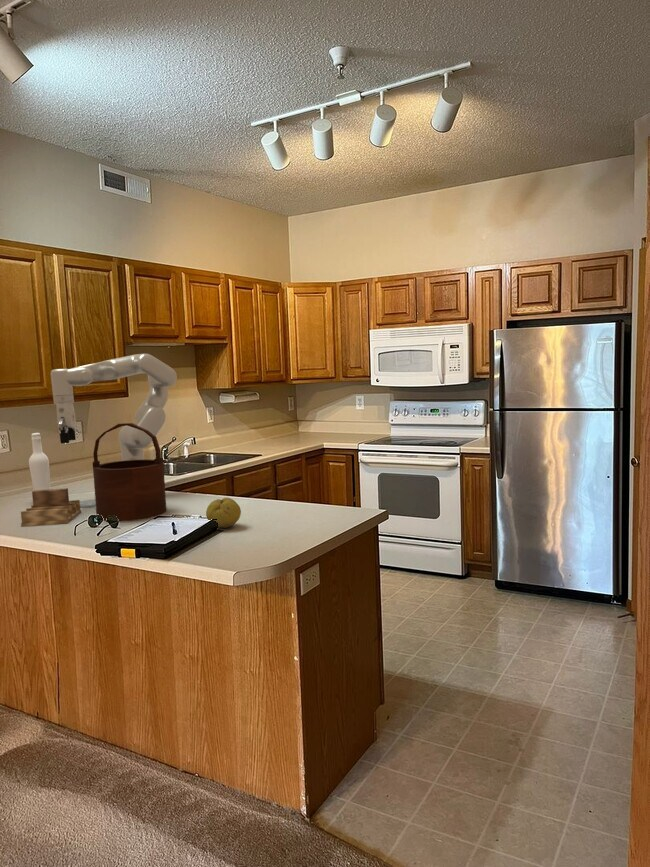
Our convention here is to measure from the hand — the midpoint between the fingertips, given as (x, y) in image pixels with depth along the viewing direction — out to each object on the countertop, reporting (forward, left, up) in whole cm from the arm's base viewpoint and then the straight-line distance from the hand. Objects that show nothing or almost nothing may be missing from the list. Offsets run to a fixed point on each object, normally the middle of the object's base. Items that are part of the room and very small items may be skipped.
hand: (68, 441), depth 249 cm
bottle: (+17, -16, -27) cm, 36 cm away
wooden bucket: (-27, +18, -28) cm, 42 cm away
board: (+2, +20, -26) cm, 33 cm away
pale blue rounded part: (-6, -4, -28) cm, 29 cm away
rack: (+2, +20, -27) cm, 34 cm away
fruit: (-64, +50, -28) cm, 86 cm away
